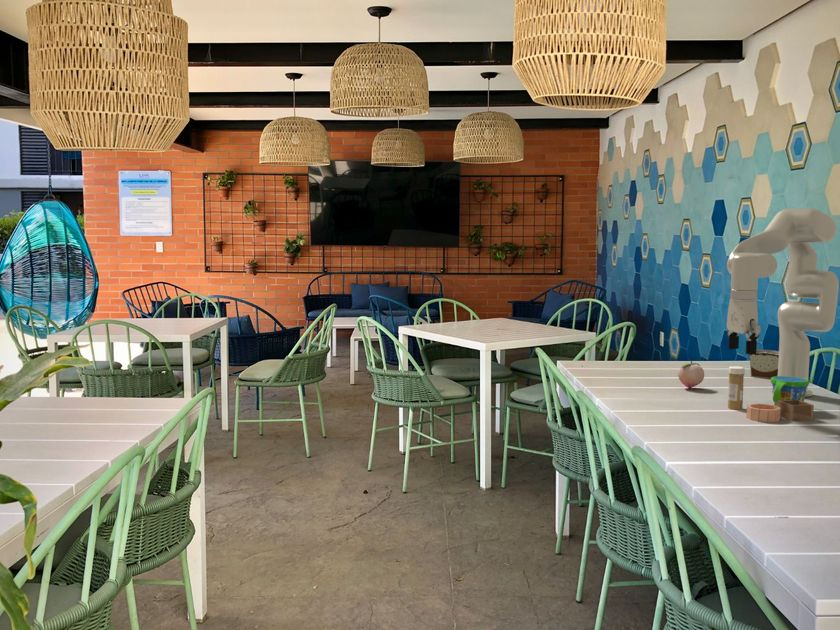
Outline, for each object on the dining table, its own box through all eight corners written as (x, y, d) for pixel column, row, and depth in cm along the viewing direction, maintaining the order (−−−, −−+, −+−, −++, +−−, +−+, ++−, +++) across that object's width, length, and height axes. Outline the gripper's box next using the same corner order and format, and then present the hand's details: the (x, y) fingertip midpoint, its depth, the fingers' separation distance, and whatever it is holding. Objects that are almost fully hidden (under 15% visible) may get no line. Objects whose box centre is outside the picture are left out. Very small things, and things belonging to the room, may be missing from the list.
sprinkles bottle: (745, 411, 251) (747, 368, 249) (732, 412, 250) (734, 368, 248) (736, 408, 255) (738, 365, 254) (723, 408, 254) (725, 366, 253)
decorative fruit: (694, 392, 281) (695, 363, 280) (673, 388, 287) (674, 360, 286) (708, 388, 287) (710, 360, 286) (687, 385, 293) (688, 357, 292)
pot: (740, 417, 243) (741, 404, 242) (768, 416, 244) (769, 403, 243) (756, 424, 234) (757, 410, 233) (786, 423, 235) (786, 409, 235)
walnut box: (776, 417, 243) (777, 400, 243) (798, 416, 244) (799, 400, 244) (790, 422, 236) (791, 405, 236) (812, 421, 237) (813, 404, 237)
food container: (784, 377, 312) (785, 351, 311) (781, 379, 307) (782, 353, 306) (750, 374, 318) (751, 348, 317) (746, 376, 313) (748, 350, 312)
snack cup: (787, 405, 260) (788, 373, 259) (818, 411, 251) (820, 378, 250) (757, 410, 252) (759, 378, 251) (789, 417, 243) (790, 383, 242)
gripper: (717, 293, 255) (715, 347, 257) (748, 298, 238) (746, 356, 240) (739, 292, 256) (738, 346, 258) (771, 297, 239) (769, 355, 241)
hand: (742, 351), depth 249 cm, fingers open, 9 cm apart
